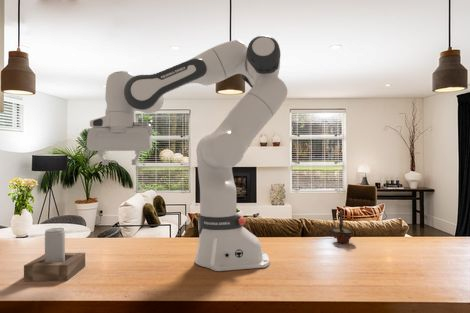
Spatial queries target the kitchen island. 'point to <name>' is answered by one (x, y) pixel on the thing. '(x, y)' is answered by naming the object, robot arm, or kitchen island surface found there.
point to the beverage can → (54, 245)
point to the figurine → (341, 231)
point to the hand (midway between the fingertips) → (120, 165)
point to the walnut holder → (54, 268)
